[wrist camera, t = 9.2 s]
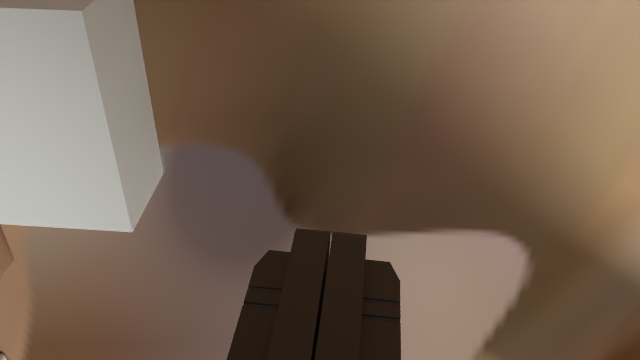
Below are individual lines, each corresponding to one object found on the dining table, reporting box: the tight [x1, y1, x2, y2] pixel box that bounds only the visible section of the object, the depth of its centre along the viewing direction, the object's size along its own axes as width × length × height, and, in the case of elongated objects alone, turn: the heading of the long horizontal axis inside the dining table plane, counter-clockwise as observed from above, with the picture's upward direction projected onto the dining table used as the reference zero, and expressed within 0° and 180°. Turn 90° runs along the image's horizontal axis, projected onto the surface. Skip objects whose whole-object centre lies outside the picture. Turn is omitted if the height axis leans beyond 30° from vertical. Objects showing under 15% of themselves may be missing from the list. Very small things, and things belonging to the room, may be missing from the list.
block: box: [0, 0, 165, 232], centre depth 20 cm, size 8×8×4 cm
